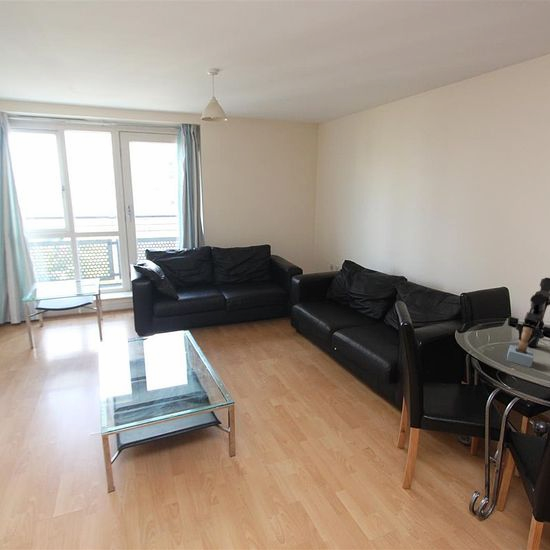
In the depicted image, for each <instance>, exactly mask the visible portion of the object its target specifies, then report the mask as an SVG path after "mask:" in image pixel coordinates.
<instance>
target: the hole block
mask: <svg viewBox="0 0 550 550" xmlns="http://www.w3.org/2000/svg"><path fill="white" fill-rule="evenodd" d="M508 347H509V348H508V351H507V355H506V361H507V362H510V363H513V364H517V365H520V366H524V367H526V368H527V367H528V368H532V365H533V361H534V358H535V357H534V351H533V350H529V349H527V350H526V353H525V354H523V353H520V352H517V349H518V346H515V345H511V344H509V346H508Z"/></svg>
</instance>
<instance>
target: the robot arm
mask: <svg viewBox="0 0 550 550" xmlns="http://www.w3.org/2000/svg"><path fill="white" fill-rule="evenodd" d="M539 287H540V290H539V291H538V290H537V291H535V294H533V295H532V296H531V297H530V301H529V302H530V308H529V311H528V312H526V314H525V316H524V319H523V321H524V322H523V321H521V320H519V318H518V317H514V316H509V317H508V319H507V326H508V327H510V328H514V329H516V330H517V331H518V340H519V341H520V339H521V335H522V332H523V328H524V327H529V328H532V329H533V330H532V333H531V336H530V339H529V341H528V347H527V348H530V349H534V348H535V349H539V348H540V346H539V341H540V339H545V338H547V339H550V326H546V325H545V323H544V318H545V314H546V312H547V309H548V307H549V306H550V277H544V278H541V281H540V283H539Z"/></svg>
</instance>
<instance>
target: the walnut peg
mask: <svg viewBox="0 0 550 550" xmlns="http://www.w3.org/2000/svg"><path fill="white" fill-rule="evenodd" d="M532 330H533V329H532V328H529V327H523V332H522V335H521V339H520V340H519V342H518V346H517V347H518V349H517V352H520V353H523V354H525V353H526V350H528V348H529V347H528V341H529V339H530V336H531V333H532Z"/></svg>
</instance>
